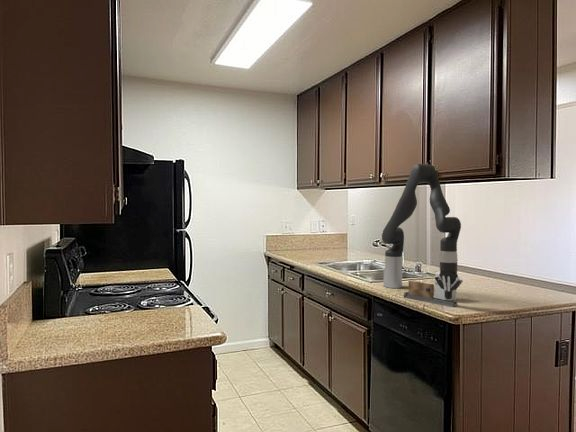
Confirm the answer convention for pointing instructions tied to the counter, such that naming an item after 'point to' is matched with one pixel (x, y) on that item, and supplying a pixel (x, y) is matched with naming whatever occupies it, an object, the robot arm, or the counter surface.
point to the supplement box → (442, 290)
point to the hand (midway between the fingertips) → (448, 298)
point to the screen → (421, 289)
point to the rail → (431, 300)
